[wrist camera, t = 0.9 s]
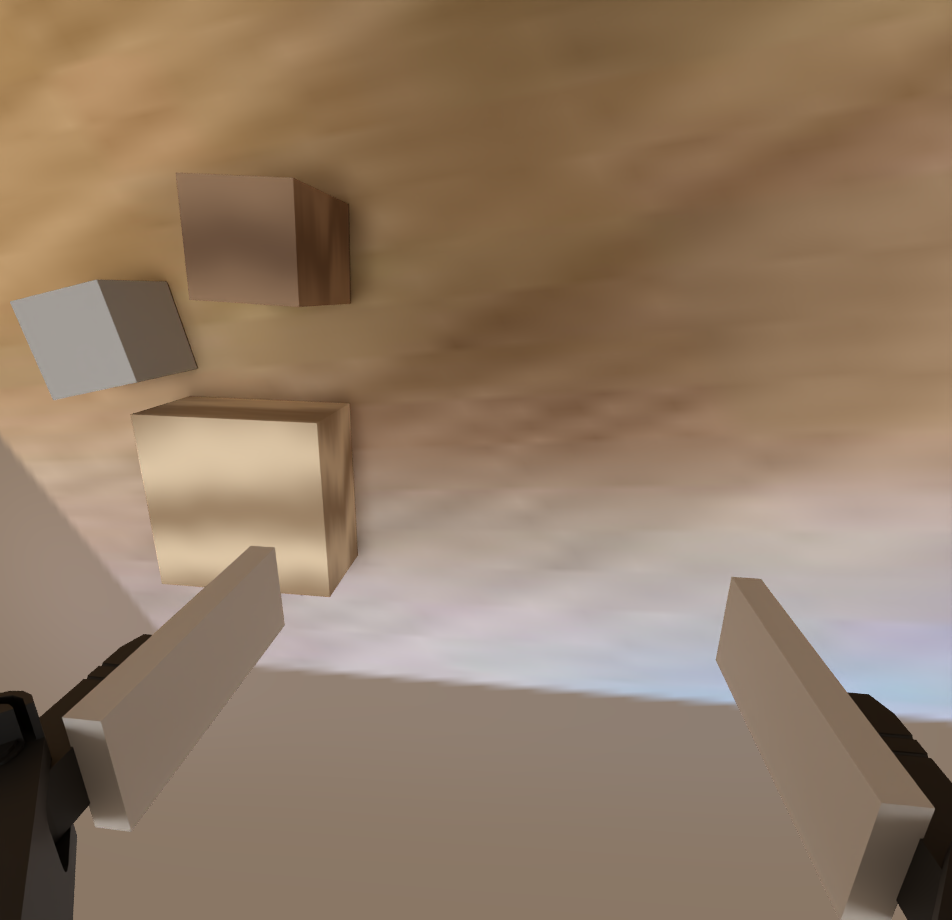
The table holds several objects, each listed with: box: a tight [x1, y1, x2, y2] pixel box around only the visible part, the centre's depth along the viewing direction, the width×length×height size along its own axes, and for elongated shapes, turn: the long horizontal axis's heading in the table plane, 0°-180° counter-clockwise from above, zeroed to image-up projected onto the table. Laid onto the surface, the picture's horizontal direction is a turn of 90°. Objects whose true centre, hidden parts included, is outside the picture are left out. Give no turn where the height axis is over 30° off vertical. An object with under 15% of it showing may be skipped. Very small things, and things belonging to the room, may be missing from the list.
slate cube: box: [10, 280, 197, 400], centre depth 34 cm, size 6×6×6 cm
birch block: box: [130, 396, 358, 597], centre depth 37 cm, size 12×12×6 cm
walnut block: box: [176, 173, 350, 307], centre depth 30 cm, size 6×6×8 cm
